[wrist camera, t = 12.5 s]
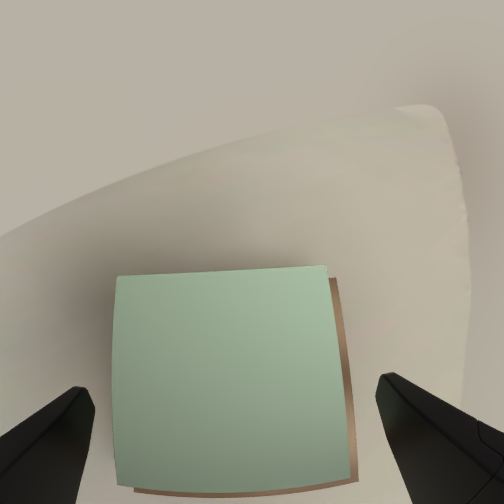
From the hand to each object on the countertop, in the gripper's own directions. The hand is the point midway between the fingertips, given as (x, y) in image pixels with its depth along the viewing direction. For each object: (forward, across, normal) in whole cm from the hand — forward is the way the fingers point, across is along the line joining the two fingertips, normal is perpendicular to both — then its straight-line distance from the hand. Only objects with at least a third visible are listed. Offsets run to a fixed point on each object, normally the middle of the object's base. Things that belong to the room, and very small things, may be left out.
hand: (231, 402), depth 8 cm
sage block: (+6, 0, +5) cm, 7 cm away
